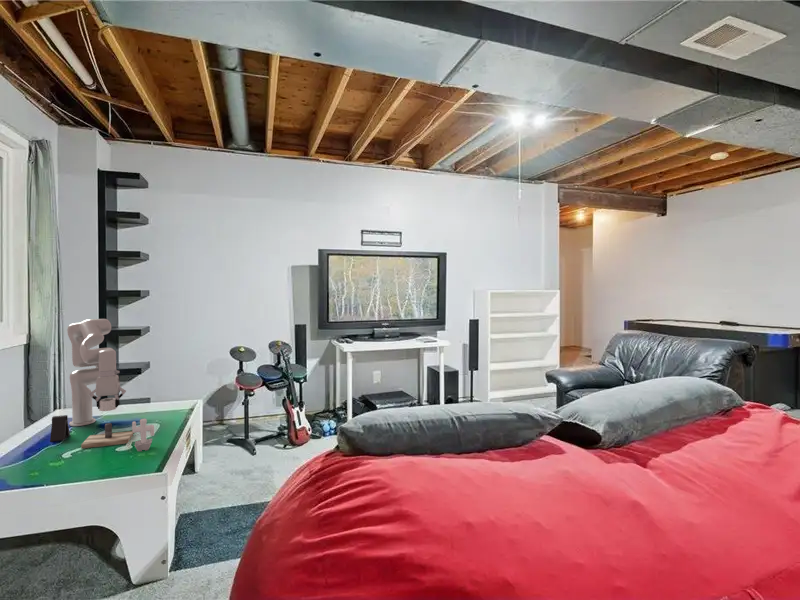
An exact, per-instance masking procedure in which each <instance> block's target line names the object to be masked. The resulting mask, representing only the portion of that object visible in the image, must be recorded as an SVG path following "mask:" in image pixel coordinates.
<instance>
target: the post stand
mask: <svg viewBox="0 0 800 600" xmlns="http://www.w3.org/2000/svg"><path fill="white" fill-rule="evenodd" d="M133 434H134V435H135V433H133V431H132V430H130V431H120V432H119V431H118V432H113V424H112V422H109V423H105V424H104V433H99V434H89V436H88V437H87V438H86V439H85V440H84V441H83V442H82V443H81V444H80V447H81V449H88V448H98V447H107V446H115V445H125V443H126V444H129V443H130V441H131V439H132V438H133V437H134V435H133ZM131 437H132V438H131ZM129 440H130V441H129ZM128 442H129V443H128Z"/></svg>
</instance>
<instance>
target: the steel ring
mask: <svg viewBox="0 0 800 600" xmlns="http://www.w3.org/2000/svg"><path fill="white" fill-rule="evenodd" d="M115 400H116V398H115V397H108V398H107V397H105V398H102V399H101V398H100V401H99V409H98V410H99V411H100V412H109V411H114V410H116V409H117V408H118V407H115Z"/></svg>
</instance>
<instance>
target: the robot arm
mask: <svg viewBox="0 0 800 600" xmlns="http://www.w3.org/2000/svg"><path fill="white" fill-rule="evenodd" d="M66 331H67V336H68V339H69V341H70V343H71V359H72V360H71V361H72V362H71V363H72V366H73V367H75V368H83V369H76V370H73V371H72V372H71V373H70V374H69V382H70V388H71V411H72V412H71V413H72V416H71V417H72V421H71V420H70V422H68V426H69V427H70V426H71V427H80V426H86V425H87V426H88V425H91V424H94V423H95V422H96V421H97V420H96V418H94V417H93V400H95V402H96V408H97V410H99V401H100V400H101V397H106V396H107V397H108V396H114V398H116V400H115V407H117V408H118V407H119V406H120V399H121V398H122V397H123V396H124V395H125V393H127V390H126V389H124V388H122V386H121V382H120V378H119V374H120V370H117V352H116V350H115V349H113V348H112V347H101V348H100V347H99V348H96V347H97V346H99V345H100V344H102V343H103V342H104V339H105V335H108V334H109V333H110V332H111V331H112V323H111V322H110V320H109V319H107V318H96V319H95V318H93V319H90V318H89V319H85V320H83V321H81V322H75V323H74V322H73V323H70V324H69V325H68V326H67V329H66ZM94 347H95V348H94ZM86 367H88V368H86ZM89 367H92V368H89ZM91 385H95V389H93V390H91V389H90V388H89V387H87V386H91ZM120 392H121V393H120ZM119 393H120V394H119Z"/></svg>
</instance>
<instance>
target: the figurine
mask: <svg viewBox="0 0 800 600" xmlns="http://www.w3.org/2000/svg"><path fill="white" fill-rule="evenodd" d="M147 423H148V420H147V418H141V419H139V424H140V425H139V426H137V422H136V421H132V422H131V428H132V429H131V431H133V433H134V434H137V433H140V439H139V440H135V442H134V447H135V449H136V451H137V452H143V451H142V450H145V451H149V450H150V447H151V445H152V442H153V438H147V432H150V436H151V437H154V436H155V426H154V425H153V424H148V425H147Z"/></svg>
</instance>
